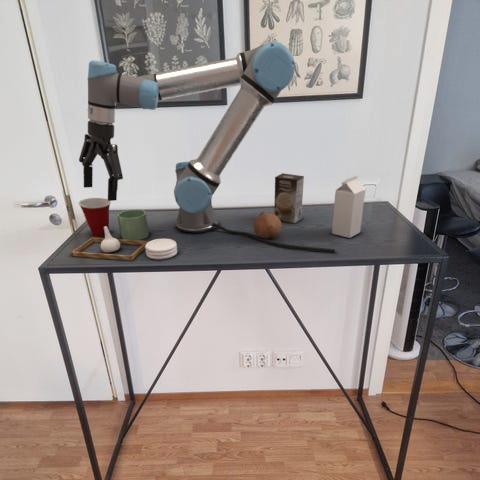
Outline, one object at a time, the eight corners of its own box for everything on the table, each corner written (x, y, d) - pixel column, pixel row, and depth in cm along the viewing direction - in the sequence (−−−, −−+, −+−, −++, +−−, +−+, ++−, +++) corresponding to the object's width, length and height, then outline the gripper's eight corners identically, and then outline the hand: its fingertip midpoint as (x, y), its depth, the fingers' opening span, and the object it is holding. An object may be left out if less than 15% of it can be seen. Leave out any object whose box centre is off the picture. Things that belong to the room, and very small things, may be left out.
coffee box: (273, 219, 161) (273, 176, 152) (280, 215, 165) (281, 173, 157) (294, 223, 156) (296, 179, 148) (302, 218, 161) (304, 175, 153)
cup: (153, 231, 153) (150, 210, 149) (142, 241, 145) (138, 218, 141) (129, 230, 155) (125, 209, 151) (116, 239, 148) (112, 217, 143)
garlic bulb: (114, 254, 136) (109, 231, 132) (97, 253, 138) (92, 229, 133) (124, 247, 141) (120, 224, 137) (108, 246, 143) (103, 223, 139)
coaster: (179, 257, 133) (178, 247, 131) (148, 262, 130) (146, 251, 128) (174, 246, 141) (173, 236, 139) (144, 250, 138) (143, 240, 137)
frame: (149, 244, 143) (148, 241, 142) (131, 260, 132) (131, 256, 131) (93, 241, 147) (92, 237, 146) (71, 256, 136) (70, 252, 135)
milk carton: (360, 232, 146) (367, 176, 136) (349, 238, 142) (356, 181, 132) (342, 228, 151) (347, 173, 141) (331, 234, 146) (336, 177, 136)
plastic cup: (108, 240, 147) (101, 206, 141) (80, 238, 149) (72, 205, 143) (121, 229, 156) (115, 197, 150) (95, 228, 158) (88, 196, 152)
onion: (258, 244, 148) (249, 216, 146) (284, 235, 147) (275, 207, 146) (258, 244, 139) (249, 214, 137) (286, 235, 138) (277, 205, 136)
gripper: (66, 112, 128) (68, 182, 139) (114, 131, 116) (112, 207, 126) (89, 113, 133) (88, 181, 144) (137, 132, 121) (133, 205, 132)
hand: (99, 193), depth 135 cm, fingers open, 13 cm apart
